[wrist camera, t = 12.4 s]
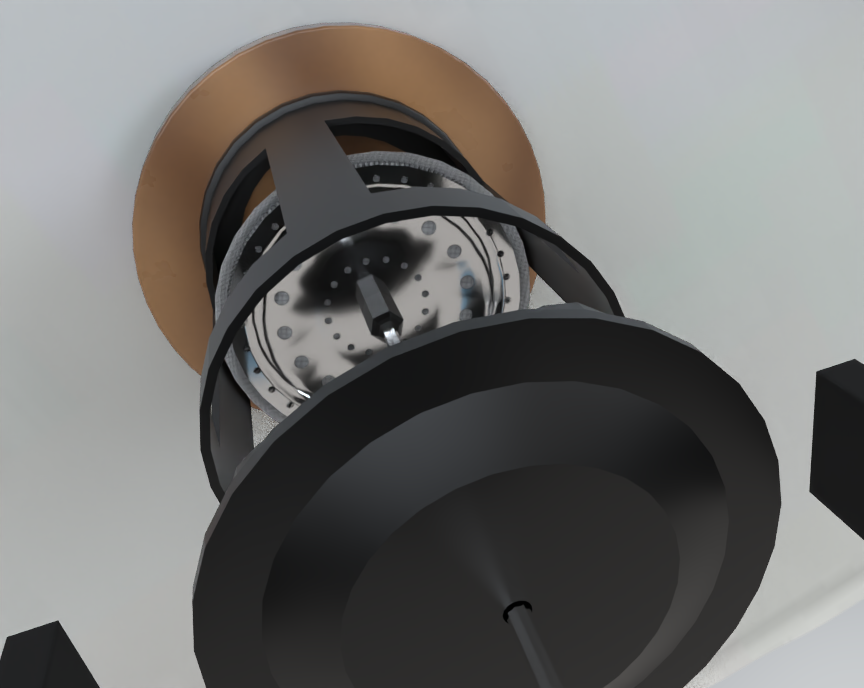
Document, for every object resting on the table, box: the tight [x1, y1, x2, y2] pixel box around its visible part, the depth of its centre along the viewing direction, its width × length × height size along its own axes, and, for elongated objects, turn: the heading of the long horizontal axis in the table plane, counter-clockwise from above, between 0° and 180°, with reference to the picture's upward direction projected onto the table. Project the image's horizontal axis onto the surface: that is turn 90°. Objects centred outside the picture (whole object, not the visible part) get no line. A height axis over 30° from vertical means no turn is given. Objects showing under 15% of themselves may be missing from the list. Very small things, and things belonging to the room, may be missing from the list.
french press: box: [192, 90, 781, 688], centre depth 16 cm, size 12×9×23 cm
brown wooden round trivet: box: [132, 23, 546, 411], centre depth 27 cm, size 14×14×1 cm
